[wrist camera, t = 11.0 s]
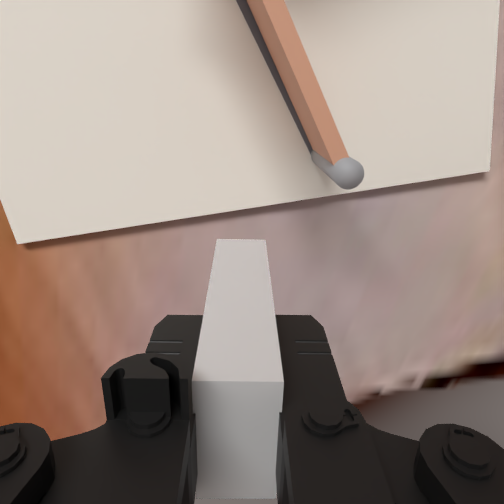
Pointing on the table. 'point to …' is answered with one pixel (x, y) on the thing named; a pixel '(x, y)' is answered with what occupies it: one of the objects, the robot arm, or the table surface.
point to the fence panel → (305, 92)
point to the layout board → (228, 105)
